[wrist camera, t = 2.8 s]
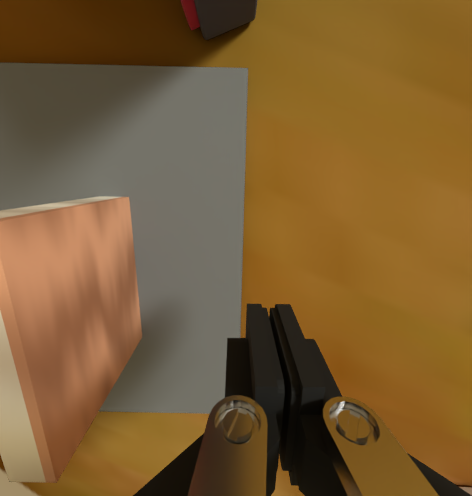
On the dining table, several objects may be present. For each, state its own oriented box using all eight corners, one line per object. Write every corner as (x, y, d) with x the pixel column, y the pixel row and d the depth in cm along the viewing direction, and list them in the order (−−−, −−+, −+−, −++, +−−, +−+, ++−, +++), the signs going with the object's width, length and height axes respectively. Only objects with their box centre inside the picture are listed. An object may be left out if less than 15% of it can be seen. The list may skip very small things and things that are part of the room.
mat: (237, 405, 21) (237, 413, 20) (9, 400, 21) (0, 409, 20) (247, 73, 14) (247, 68, 14) (-86, 66, 14) (-105, 60, 14)
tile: (142, 337, 18) (56, 482, 10) (117, 336, 18) (9, 481, 10) (129, 196, 15) (-9, 222, 7) (100, 196, 15) (-75, 221, 7)
